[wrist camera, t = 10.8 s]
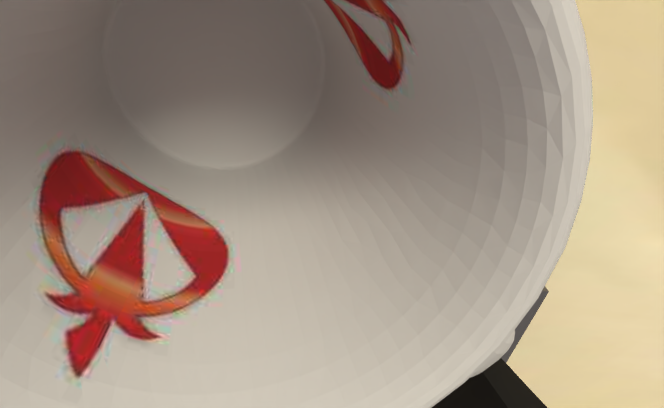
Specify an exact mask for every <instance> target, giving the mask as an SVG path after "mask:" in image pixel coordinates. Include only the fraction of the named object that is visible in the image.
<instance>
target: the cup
mask: <svg viewBox="0 0 664 408" xmlns="http://www.w3.org/2000/svg"><path fill="white" fill-rule="evenodd" d="M592 128H593V101H592V77H591V71H590V64H589V58H588V52H587V45H586V39H585V33H584V29H583V26H582V23H581V19H580V16H579V12H578V9H577V6H576V2H575V0H0V408H432V407H433V406H434V405H436V404H437V403H438V402H440V401H441V400H442V399H444V398H445V397H446V396H447V395H449V394H450V393H451V392H453V391H454V390H455V389H457V388H458V387H459V386H461V385H462V384H463V383H465V382H466V381H467V380H468V379H469V378H471V377H474V376H476V375H478V374H480V373H481V372H483V371H484V370H486V369H487V368H488V367H490V366H491V365H492V364H494V363H495V362H496V361H498V360H499V359H500V358H501V357H502V356H503V355H504V354H505V353H506V352H507V351H508V350H509V348H510V346H511V345H512V343H513V341H514V336H515V329H516V327H517V326H518V325H519V323H520V322H521V321H522V319H523V318H524V317H525V315H526V314H527V312H528V311H529V310H530V308H531V307H532V306H533V304H534V303H535V302H536V300H537V299H538V298H539V296H540V294H541V292H542V290H543V288H544V286H545V284H546V283H547V281H548V279H549V277H550V275H551V273H552V271H553V269H554V268H555V266H556V264H557V262H558V260H559V258H560V256H561V254H562V253H563V251H564V249H565V247H566V244H567V241H568V238H569V235H570V232H571V229H572V226H573V223H574V220H575V218H576V215H577V212H578V209H579V206H580V203H581V199H582V194H583V189H584V185H585V180H586V175H587V170H588V165H589V160H590V151H591V139H592Z"/></svg>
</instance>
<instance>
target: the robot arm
mask: <svg viewBox="0 0 664 408" xmlns="http://www.w3.org/2000/svg"><path fill="white" fill-rule="evenodd" d="M432 408H547V407H546V406H545V405H544V404H543V403H542V402H541V400H540V399H539V398H538V397H537V396H536V395H535V394H534V393H533V392H532V391H531V390H530V389H529V388H528V387H527V386H526V384H525V383H524V382H523V381H522V380H521V379H520V378H519V377H518V376H517V375H516V374H515V373H514V371H513V370H512V369H511V368H510V367H509V366H508V365H507V364H506V363H505V362H504V361H503V359H502V358H500V359H499V360H498V361H496V362H495V363H494V364H492V365H491V366H490V367H488V368H487V369H486V370H484V371H483V372H481V373H480V374H478V375H476V376H474V377H471V378H469V379H468V380H467V381H466V382H465V383H463V384H462V385H461V386H459V387H458V388H457V389H455V390H454V391H453V392H451V393H450V394H449V395H447V396H446V397H445V398H444V399H442V400H441V401H440V402H438V403H437V404H436V405H434V406H433V407H432Z"/></svg>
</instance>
